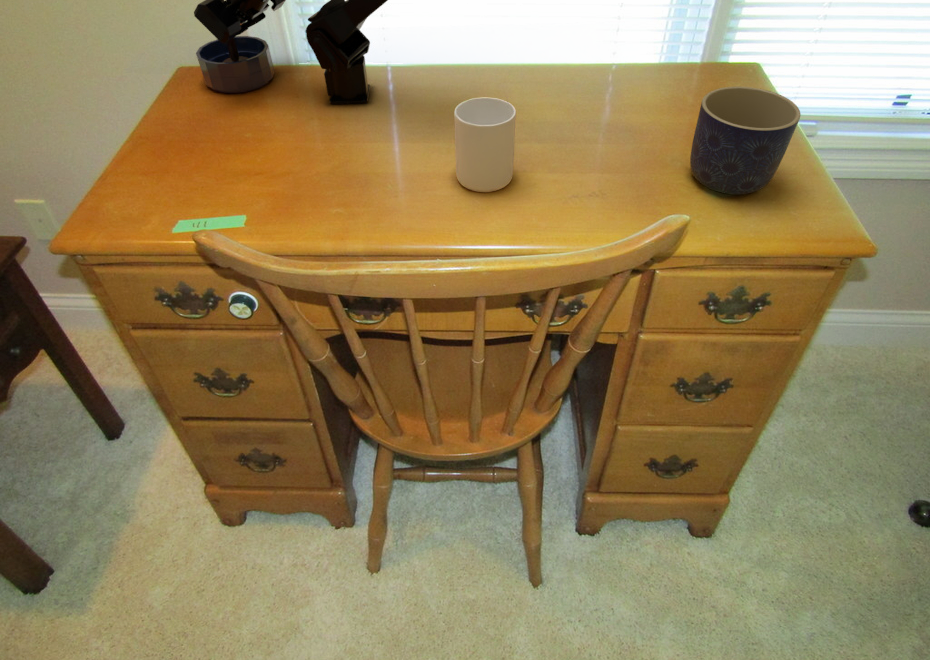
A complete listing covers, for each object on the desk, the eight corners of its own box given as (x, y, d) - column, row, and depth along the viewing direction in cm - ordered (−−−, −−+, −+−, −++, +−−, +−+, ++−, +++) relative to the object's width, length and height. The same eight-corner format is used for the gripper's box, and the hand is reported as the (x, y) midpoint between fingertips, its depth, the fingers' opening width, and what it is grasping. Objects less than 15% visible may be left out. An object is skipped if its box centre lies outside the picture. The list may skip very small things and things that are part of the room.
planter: (695, 203, 87) (717, 130, 79) (674, 157, 95) (691, 86, 88) (785, 202, 87) (816, 128, 79) (756, 155, 95) (781, 85, 88)
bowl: (280, 64, 121) (273, 34, 117) (268, 93, 112) (260, 62, 108) (215, 66, 121) (206, 36, 117) (198, 95, 112) (187, 64, 108)
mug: (453, 151, 97) (451, 86, 90) (506, 149, 98) (508, 84, 90) (457, 195, 89) (456, 127, 82) (516, 192, 89) (519, 124, 82)
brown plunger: (256, 76, 115) (235, -5, 106) (230, 83, 114) (207, 1, 104) (248, 67, 118) (227, -12, 109) (222, 73, 117) (199, -7, 107)
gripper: (253, -84, 105) (217, -17, 115) (184, -53, 92) (149, 19, 103) (305, -28, 108) (265, 32, 119) (244, 9, 96) (205, 72, 107)
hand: (223, 37), depth 112 cm, fingers closed on brown plunger
